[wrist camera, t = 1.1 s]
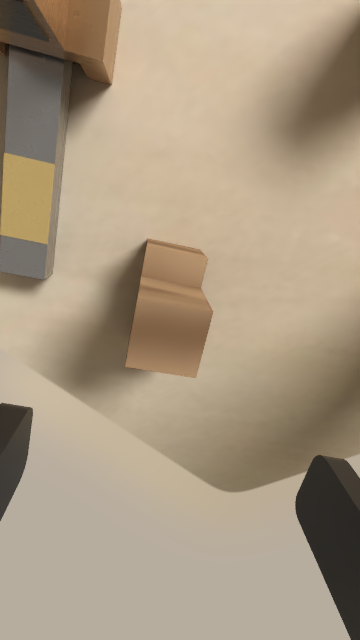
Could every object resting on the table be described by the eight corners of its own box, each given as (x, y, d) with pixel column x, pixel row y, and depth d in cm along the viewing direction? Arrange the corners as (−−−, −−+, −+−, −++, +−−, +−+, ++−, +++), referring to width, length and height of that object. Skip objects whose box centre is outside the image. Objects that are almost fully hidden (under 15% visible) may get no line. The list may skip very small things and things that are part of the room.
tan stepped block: (179, 345, 28) (189, 408, 20) (129, 336, 28) (119, 397, 19) (201, 249, 26) (224, 275, 17) (147, 238, 25) (144, 259, 17)
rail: (129, -55, 19) (111, -249, 11) (86, 280, 26) (53, 320, 17) (-18, -104, 18) (-163, -361, 10) (-26, 259, 25) (-118, 290, 16)
